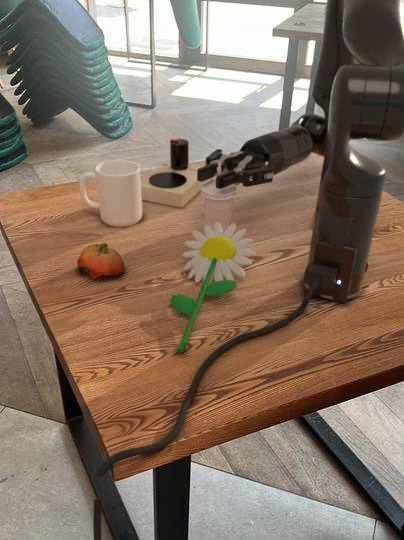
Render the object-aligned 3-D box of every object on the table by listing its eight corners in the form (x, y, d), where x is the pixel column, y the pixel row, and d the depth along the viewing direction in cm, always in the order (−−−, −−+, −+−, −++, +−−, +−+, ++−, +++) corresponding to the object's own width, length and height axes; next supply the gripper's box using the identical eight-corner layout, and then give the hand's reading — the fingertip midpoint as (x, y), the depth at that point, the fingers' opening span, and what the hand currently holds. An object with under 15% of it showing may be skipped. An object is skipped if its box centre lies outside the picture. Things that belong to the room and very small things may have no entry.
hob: (181, 207, 118) (181, 193, 116) (134, 198, 121) (133, 183, 119) (213, 178, 130) (213, 165, 128) (169, 171, 133) (169, 157, 131)
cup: (137, 228, 110) (134, 177, 103) (77, 224, 111) (70, 173, 104) (146, 210, 116) (143, 161, 110) (88, 206, 117) (82, 157, 111)
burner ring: (176, 190, 117) (176, 189, 117) (142, 184, 119) (142, 182, 119) (192, 177, 123) (192, 175, 122) (159, 171, 125) (159, 169, 125)
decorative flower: (224, 371, 81) (261, 248, 101) (223, 347, 77) (261, 224, 97) (139, 360, 84) (192, 242, 103) (134, 336, 80) (189, 219, 100)
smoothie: (234, 230, 110) (238, 158, 101) (232, 246, 105) (237, 171, 96) (201, 228, 110) (203, 156, 102) (198, 244, 105) (199, 169, 97)
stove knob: (191, 165, 128) (191, 138, 124) (184, 171, 125) (184, 144, 121) (174, 162, 129) (174, 136, 125) (167, 168, 126) (167, 142, 122)
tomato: (127, 276, 93) (94, 243, 90) (97, 302, 95) (65, 271, 93) (132, 259, 100) (102, 228, 97) (104, 283, 102) (74, 254, 99)
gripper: (242, 125, 110) (178, 147, 100) (302, 144, 102) (240, 169, 92) (239, 164, 114) (179, 188, 105) (297, 184, 107) (238, 212, 97)
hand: (208, 179), depth 99 cm, fingers open, 4 cm apart
